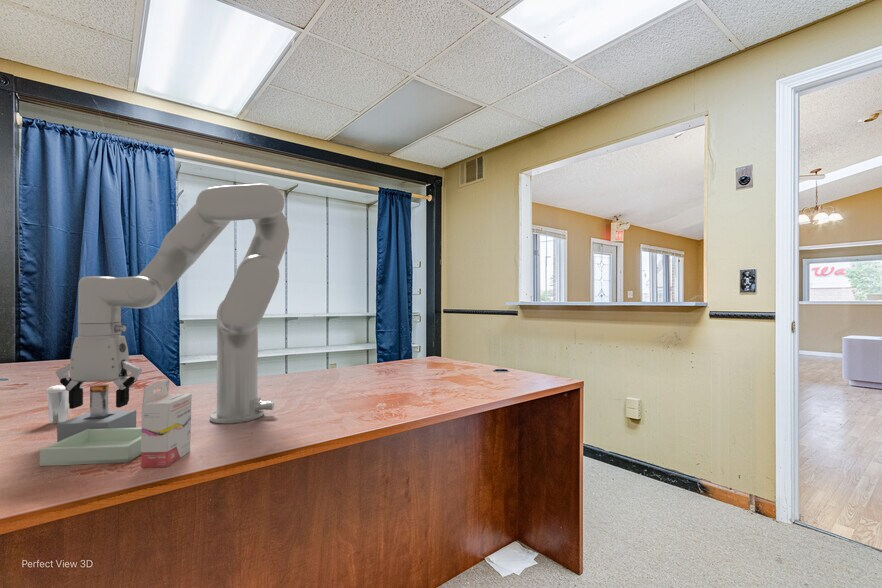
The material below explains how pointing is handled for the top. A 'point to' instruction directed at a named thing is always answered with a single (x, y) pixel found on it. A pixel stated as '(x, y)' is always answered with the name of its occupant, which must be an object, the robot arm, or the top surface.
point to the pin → (99, 401)
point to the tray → (94, 447)
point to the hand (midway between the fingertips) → (99, 406)
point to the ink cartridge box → (164, 426)
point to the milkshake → (57, 403)
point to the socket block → (96, 423)
